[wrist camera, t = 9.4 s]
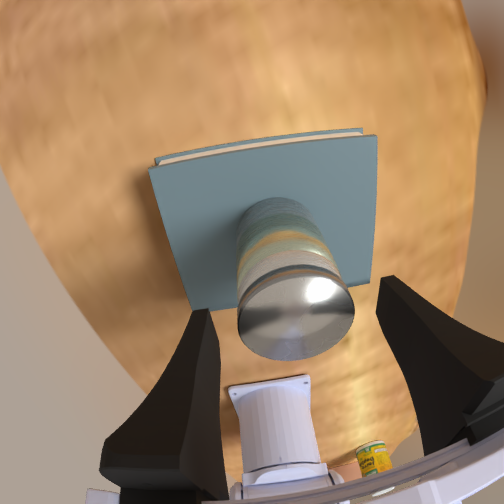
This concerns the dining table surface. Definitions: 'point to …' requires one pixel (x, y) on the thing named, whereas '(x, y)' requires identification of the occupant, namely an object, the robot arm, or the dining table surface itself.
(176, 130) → the dining table surface
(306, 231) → the tea tin
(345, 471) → the open box
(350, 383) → the dining table surface
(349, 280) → the hardcover book
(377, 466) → the supplement bottle
